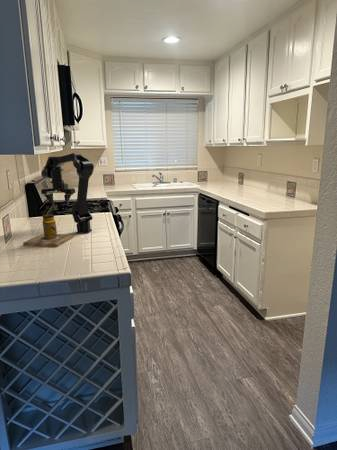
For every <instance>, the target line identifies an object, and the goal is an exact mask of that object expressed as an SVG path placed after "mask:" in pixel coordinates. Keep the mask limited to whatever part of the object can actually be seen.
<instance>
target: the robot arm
mask: <svg viewBox="0 0 337 450" xmlns="http://www.w3.org/2000/svg"><path fill="white" fill-rule="evenodd" d="M68 163H72V165H73V167H74V168H75V169H76V174H77V176H78V187H77V195H76V196H77V197H76V203H74V204H72V206H71V215H72V218H73V220H74V223H76V230H77V231H76V234H88V233H90V232H92V231H93V229H91V221H92V220H93V215H92V213H90V211H89V206H88V204H87V199H88V198H87V197H88V190H89V189H88V188H89V181H90V178H91V176H92V175H93V172H94V168H95V165H94V164H93V162H92V161H91V160H90V159H89V158H87V157H85V156H84V155H82V154H81V153H79V152H71V153H70V154H69V153H68V154H66V155H58V156H48V158H47V160H46V164H45V165H44V166H43V169H42V170H41V174H40V175H41V177H42V178H44V179H50V180H51V181H50V184H51V187H45V188H42V189H41V190H40V193H41V195H43V196H44V197H45V198H46V199H47V200H48V202H49V203H50V205H51V207H53V206H54V199H53V198H54V197H53V195H54V194H55V193H56V194H57V193H58V194H60V193H61V194H63V193H64V195H63V197H64V203H65V206H66V207H68V206H69V202H70V199H71V197H72V195H74V194H75V193H76V189H75V188H73V187H69V184H68V183H65V181H64V179H63V175H62V171H64V168H62V166H63V165H64V164H68Z"/></svg>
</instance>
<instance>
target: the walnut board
mask: <svg viewBox="0 0 337 450" xmlns="http://www.w3.org/2000/svg"><path fill="white" fill-rule="evenodd" d="M40 237H44V233H41V234H38V235H36V236H34V237H31V238H30V239H28V240H26V241H23V242H22V243H23V244H22V245H23V246H25V247H29V246H30V247H48V248H53V247H54V248H58V247H59V246H61V245H63V244H65V243H66V242H68V241H70V240H72V239H73V238H74V234H68V233H67V234H65V233H64V234H63V233H62V234H61V233H59V234H58V233H57V237H59V238H58V239H53V240H47V241H41V240H40V239H39V238H40Z"/></svg>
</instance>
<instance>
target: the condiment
mask: <svg viewBox="0 0 337 450" xmlns="http://www.w3.org/2000/svg"><path fill="white" fill-rule="evenodd" d="M56 223H57V222H56V219H55V215H54V214H53V213H47V214H42V228H43V229H42V230H43V234H44V237H40V238H39V239H40V240H41V241H47V240H53V239H58V238H59V237H57V234H58V233H57V232H58V231H57V225H56Z"/></svg>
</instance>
